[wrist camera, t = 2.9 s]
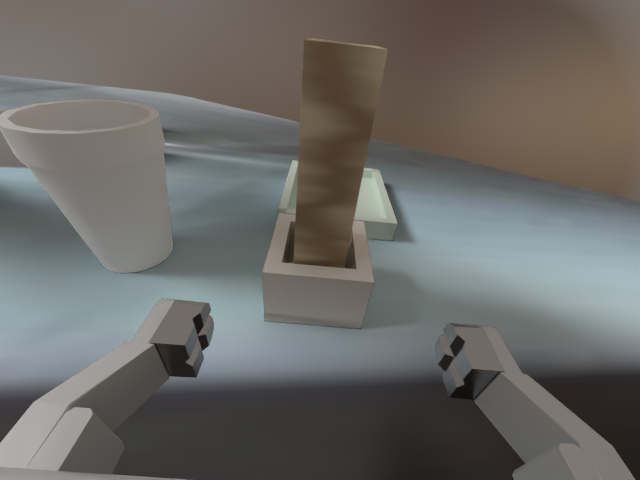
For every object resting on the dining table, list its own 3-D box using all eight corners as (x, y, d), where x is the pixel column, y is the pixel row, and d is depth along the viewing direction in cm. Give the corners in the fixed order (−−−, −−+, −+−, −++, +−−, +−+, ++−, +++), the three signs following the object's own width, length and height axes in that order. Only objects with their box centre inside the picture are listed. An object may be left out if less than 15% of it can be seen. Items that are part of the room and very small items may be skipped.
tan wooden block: (291, 296, 24) (304, 39, 13) (296, 265, 27) (309, 38, 16) (337, 300, 24) (387, 49, 13) (337, 268, 27) (376, 46, 16)
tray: (276, 229, 33) (276, 211, 32) (291, 174, 46) (292, 160, 45) (392, 240, 34) (397, 223, 32) (375, 183, 46) (378, 169, 45)
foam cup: (207, 251, 29) (182, 120, 21) (108, 302, 23) (21, 144, 15) (159, 216, 33) (124, 96, 25) (65, 251, 27) (-20, 106, 19)
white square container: (264, 320, 23) (262, 272, 20) (278, 257, 29) (279, 213, 26) (360, 328, 23) (374, 282, 20) (354, 264, 29) (363, 221, 26)
